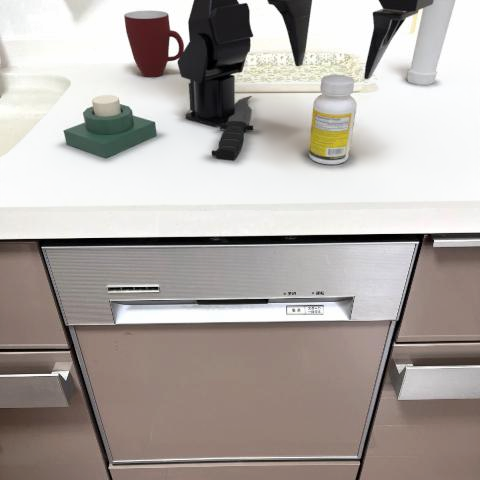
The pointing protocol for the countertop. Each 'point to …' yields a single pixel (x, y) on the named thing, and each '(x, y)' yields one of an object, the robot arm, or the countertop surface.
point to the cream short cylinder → (106, 105)
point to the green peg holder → (109, 132)
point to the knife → (234, 131)
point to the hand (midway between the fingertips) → (331, 71)
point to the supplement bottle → (333, 120)
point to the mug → (151, 40)
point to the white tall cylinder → (430, 41)
